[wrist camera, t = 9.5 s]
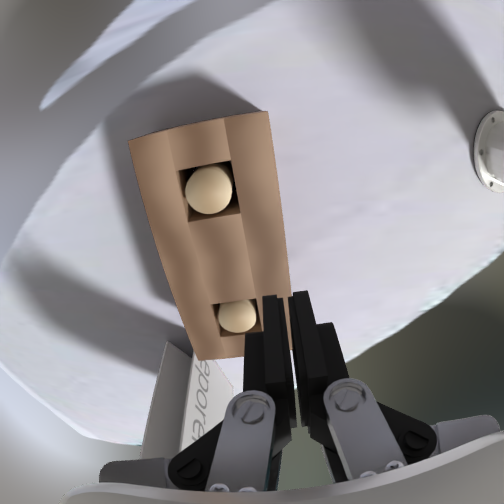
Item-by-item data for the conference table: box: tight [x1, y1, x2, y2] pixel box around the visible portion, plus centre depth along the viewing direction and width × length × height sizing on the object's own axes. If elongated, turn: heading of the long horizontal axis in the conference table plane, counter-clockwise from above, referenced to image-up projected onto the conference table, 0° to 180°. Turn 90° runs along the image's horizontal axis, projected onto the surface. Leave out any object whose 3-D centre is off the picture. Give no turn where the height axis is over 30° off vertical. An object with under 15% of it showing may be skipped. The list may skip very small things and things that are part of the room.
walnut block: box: [128, 111, 292, 361], centre depth 32 cm, size 12×26×8 cm, turn 9°
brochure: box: [139, 341, 233, 459], centre depth 33 cm, size 14×6×30 cm, turn 20°
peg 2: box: [219, 298, 256, 333], centre depth 35 cm, size 4×4×8 cm
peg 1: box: [185, 161, 234, 214], centre depth 29 cm, size 4×4×8 cm
